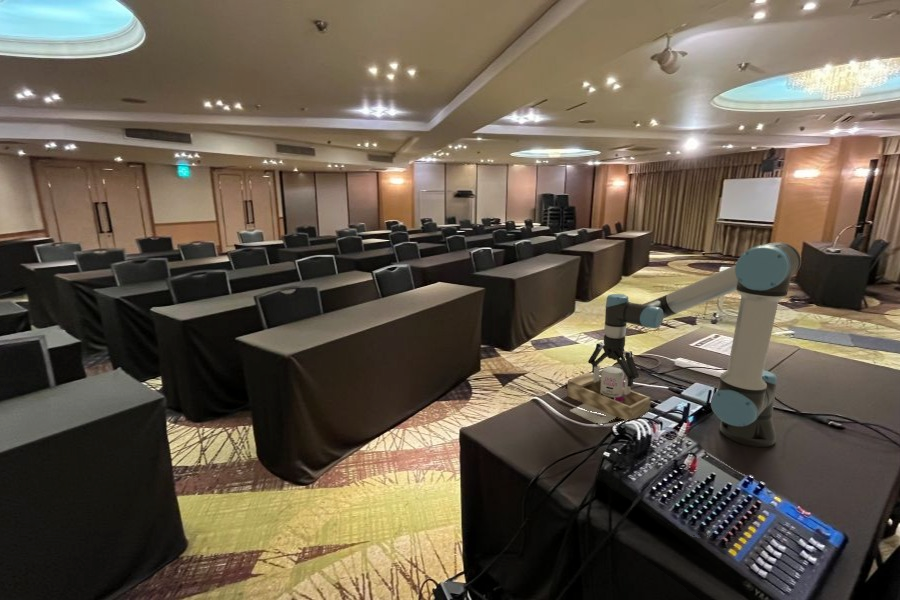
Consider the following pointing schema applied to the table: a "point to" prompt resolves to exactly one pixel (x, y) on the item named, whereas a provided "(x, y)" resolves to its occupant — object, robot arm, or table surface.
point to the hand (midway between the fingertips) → (611, 387)
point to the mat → (591, 416)
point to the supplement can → (612, 383)
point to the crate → (580, 392)
